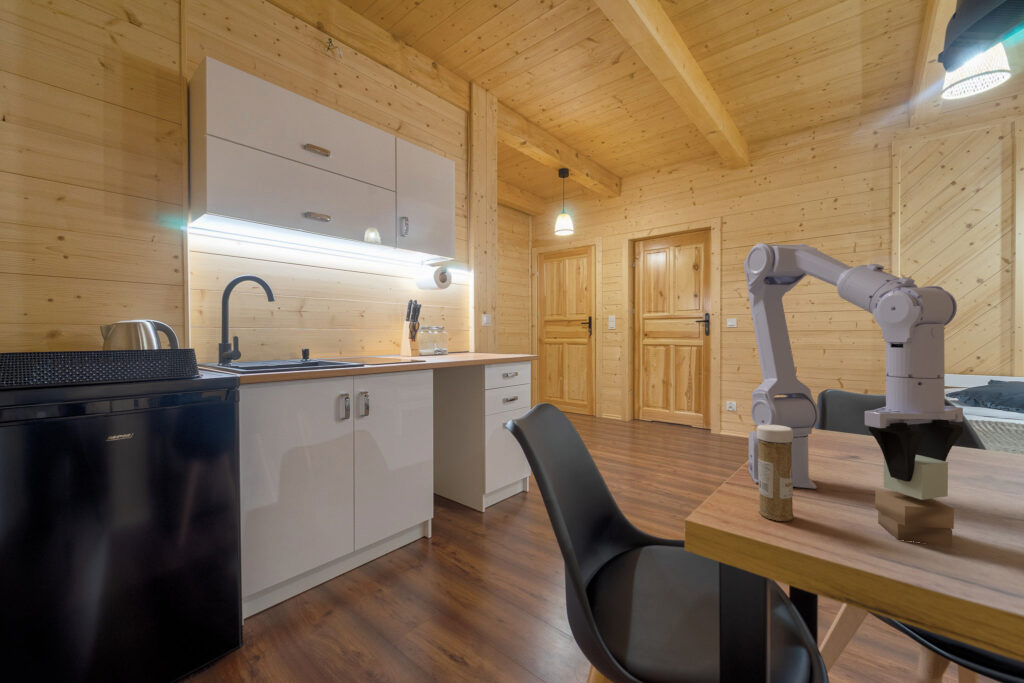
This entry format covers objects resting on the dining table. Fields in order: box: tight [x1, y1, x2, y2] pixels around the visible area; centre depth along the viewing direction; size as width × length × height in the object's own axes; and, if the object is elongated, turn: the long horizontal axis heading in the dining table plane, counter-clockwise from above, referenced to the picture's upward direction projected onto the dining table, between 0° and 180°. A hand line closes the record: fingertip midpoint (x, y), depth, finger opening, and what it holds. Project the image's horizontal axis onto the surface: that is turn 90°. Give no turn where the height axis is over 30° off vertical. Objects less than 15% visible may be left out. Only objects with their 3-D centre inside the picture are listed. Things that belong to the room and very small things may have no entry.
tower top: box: [874, 490, 955, 530], centre depth 57 cm, size 6×6×3 cm
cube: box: [883, 455, 949, 500], centre depth 57 cm, size 4×4×4 cm
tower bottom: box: [877, 510, 953, 548], centre depth 57 cm, size 6×6×3 cm
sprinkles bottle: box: [756, 425, 795, 522], centre depth 63 cm, size 5×5×13 cm
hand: (914, 477), depth 57 cm, fingers closed on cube, 4 cm apart
